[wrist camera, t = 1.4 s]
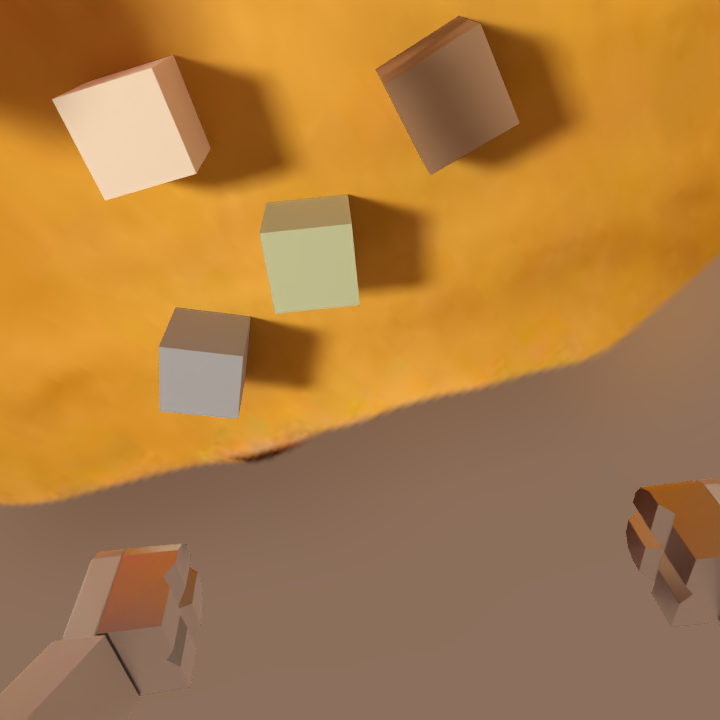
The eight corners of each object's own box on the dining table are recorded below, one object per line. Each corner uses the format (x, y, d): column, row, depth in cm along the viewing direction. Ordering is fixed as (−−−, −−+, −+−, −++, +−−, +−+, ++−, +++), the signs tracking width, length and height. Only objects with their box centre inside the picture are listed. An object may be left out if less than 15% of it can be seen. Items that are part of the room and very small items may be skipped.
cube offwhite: (173, 54, 31) (151, 68, 27) (211, 148, 34) (196, 173, 29) (86, 82, 31) (51, 99, 27) (130, 172, 34) (105, 200, 30)
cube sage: (347, 193, 36) (351, 223, 31) (355, 268, 38) (359, 304, 34) (266, 202, 35) (259, 233, 31) (279, 276, 38) (275, 313, 34)
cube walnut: (458, 15, 31) (480, 23, 26) (494, 103, 33) (519, 123, 29) (375, 69, 32) (384, 84, 28) (416, 150, 34) (430, 175, 30)
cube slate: (251, 316, 40) (243, 356, 36) (245, 374, 43) (237, 418, 38) (175, 306, 39) (159, 346, 35) (175, 367, 42) (159, 411, 38)
